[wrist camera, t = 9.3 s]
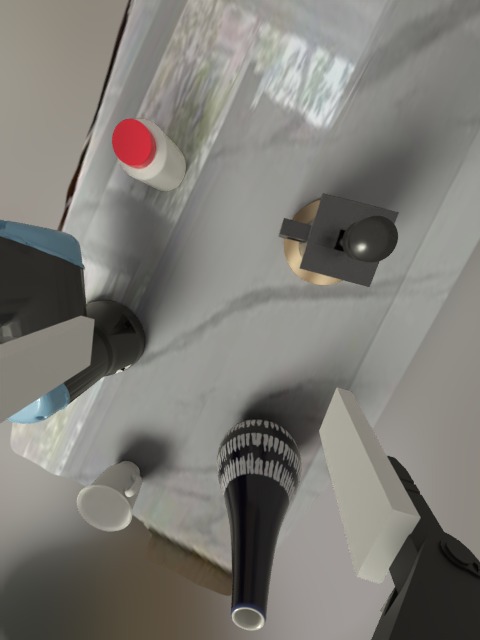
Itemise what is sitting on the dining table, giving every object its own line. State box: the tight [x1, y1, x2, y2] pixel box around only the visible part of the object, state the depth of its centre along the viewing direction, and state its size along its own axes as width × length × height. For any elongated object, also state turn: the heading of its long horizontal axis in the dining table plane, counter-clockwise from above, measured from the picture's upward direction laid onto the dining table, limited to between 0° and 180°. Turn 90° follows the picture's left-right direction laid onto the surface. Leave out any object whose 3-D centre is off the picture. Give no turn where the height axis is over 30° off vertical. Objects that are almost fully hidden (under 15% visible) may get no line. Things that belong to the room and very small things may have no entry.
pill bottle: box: [112, 118, 186, 191], centre depth 41 cm, size 8×8×11 cm
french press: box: [278, 194, 399, 287], centre depth 39 cm, size 13×9×13 cm
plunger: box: [334, 216, 398, 263], centre depth 33 cm, size 7×7×19 cm
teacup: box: [77, 461, 142, 531], centre depth 59 cm, size 12×15×10 cm
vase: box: [217, 418, 301, 630], centre depth 43 cm, size 16×16×30 cm
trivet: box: [284, 200, 343, 285], centre depth 46 cm, size 14×14×1 cm
